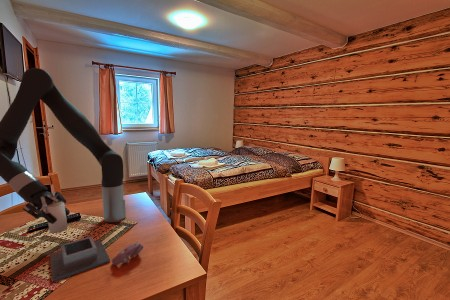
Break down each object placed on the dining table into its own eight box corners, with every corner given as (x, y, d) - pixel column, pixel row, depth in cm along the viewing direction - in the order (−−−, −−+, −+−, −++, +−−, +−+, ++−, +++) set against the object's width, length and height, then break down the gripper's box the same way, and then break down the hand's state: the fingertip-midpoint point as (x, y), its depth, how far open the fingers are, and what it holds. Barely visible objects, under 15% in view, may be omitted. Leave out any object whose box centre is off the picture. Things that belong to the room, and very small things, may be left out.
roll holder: (100, 241, 91) (99, 230, 90) (110, 261, 79) (109, 248, 78) (50, 257, 81) (48, 244, 80) (52, 282, 69) (51, 267, 68)
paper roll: (66, 224, 89) (63, 200, 88) (67, 230, 85) (64, 204, 83) (49, 229, 86) (45, 203, 84) (49, 235, 82) (45, 208, 80)
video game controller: (117, 272, 76) (122, 258, 73) (109, 262, 78) (114, 248, 75) (141, 257, 84) (147, 244, 82) (134, 248, 86) (139, 235, 83)
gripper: (14, 186, 76) (51, 221, 77) (50, 174, 90) (81, 204, 91) (2, 200, 77) (38, 234, 78) (40, 186, 91) (70, 215, 92)
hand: (61, 218), depth 85 cm, fingers closed on paper roll, 5 cm apart
